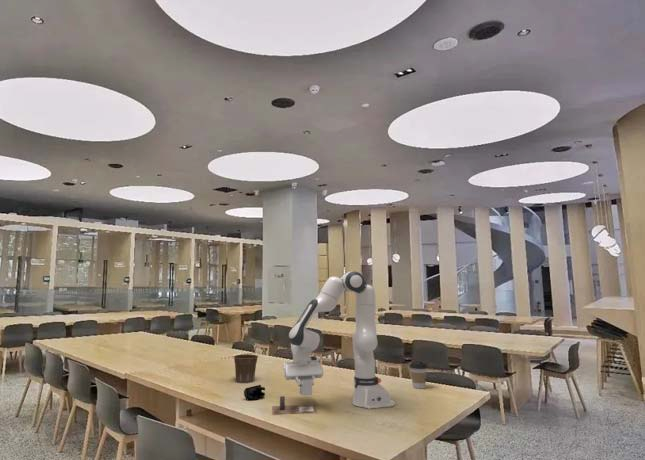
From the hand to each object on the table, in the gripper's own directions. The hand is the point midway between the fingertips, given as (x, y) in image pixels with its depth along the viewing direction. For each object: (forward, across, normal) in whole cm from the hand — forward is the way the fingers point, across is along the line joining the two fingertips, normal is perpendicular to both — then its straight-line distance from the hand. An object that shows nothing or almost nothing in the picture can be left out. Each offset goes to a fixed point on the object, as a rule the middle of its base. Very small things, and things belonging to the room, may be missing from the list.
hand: (306, 385), depth 203 cm
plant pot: (-46, -21, +65) cm, 83 cm away
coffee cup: (-10, +80, +28) cm, 86 cm away
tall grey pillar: (+3, 0, +4) cm, 4 cm away
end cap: (-14, -21, +34) cm, 42 cm away
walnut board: (+8, -5, +11) cm, 15 cm away
